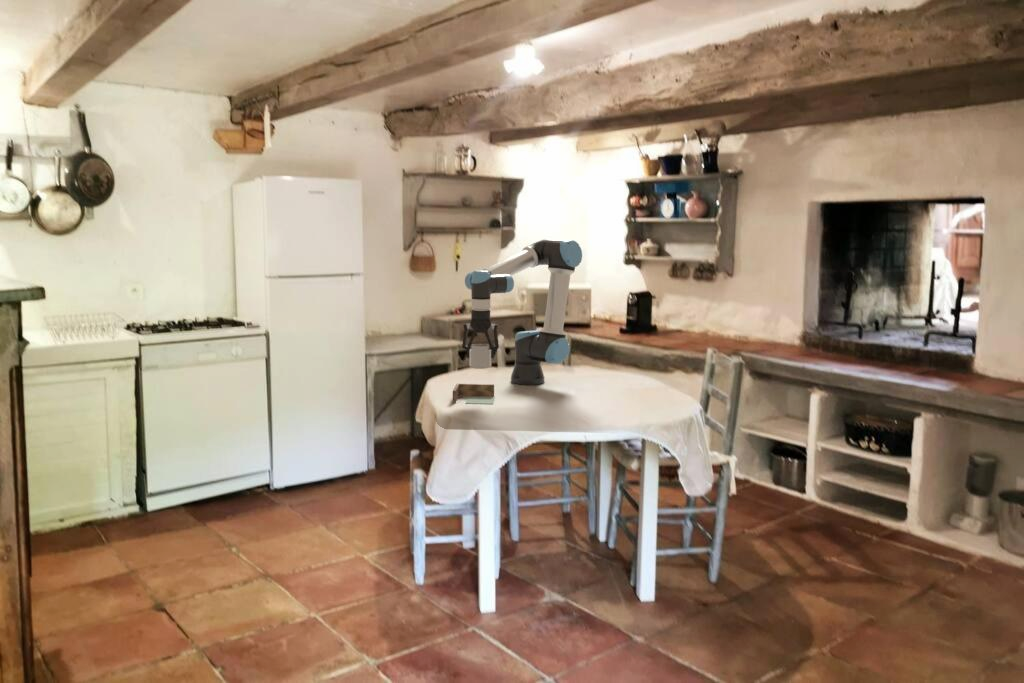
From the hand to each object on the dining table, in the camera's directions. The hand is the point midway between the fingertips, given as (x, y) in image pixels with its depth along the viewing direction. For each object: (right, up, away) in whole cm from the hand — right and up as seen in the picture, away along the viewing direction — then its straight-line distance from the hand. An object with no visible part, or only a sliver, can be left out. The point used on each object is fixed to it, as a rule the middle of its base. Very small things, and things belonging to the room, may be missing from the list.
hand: (480, 366), depth 319 cm
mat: (0, -14, +2) cm, 14 cm away
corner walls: (-3, -14, +4) cm, 15 cm away
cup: (-1, 0, 0) cm, 1 cm away
